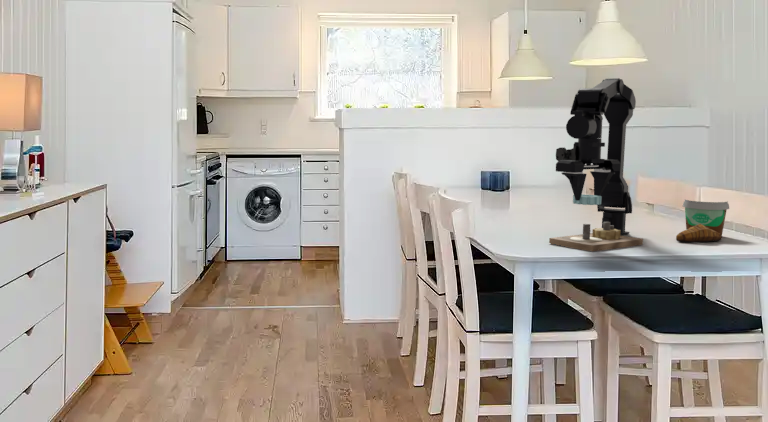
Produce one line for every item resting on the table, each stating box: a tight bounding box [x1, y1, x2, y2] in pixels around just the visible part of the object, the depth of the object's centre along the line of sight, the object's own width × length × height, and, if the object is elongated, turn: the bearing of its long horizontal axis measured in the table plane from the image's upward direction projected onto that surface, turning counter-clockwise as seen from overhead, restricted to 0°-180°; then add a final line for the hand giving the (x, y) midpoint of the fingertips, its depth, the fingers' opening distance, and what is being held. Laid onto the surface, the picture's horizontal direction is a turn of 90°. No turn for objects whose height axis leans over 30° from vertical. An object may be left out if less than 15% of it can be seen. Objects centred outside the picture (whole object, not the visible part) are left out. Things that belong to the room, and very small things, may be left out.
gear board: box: [548, 222, 644, 252], centre depth 201 cm, size 20×14×6 cm
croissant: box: [675, 224, 723, 243], centre depth 208 cm, size 14×7×5 cm, turn 104°
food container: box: [682, 199, 730, 236], centre depth 217 cm, size 12×6×10 cm, turn 68°
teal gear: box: [572, 193, 602, 206], centre depth 197 cm, size 7×7×2 cm
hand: (587, 199), depth 197 cm, fingers closed on teal gear, 7 cm apart
